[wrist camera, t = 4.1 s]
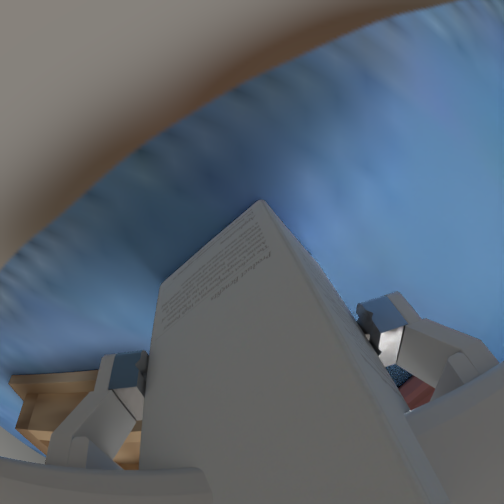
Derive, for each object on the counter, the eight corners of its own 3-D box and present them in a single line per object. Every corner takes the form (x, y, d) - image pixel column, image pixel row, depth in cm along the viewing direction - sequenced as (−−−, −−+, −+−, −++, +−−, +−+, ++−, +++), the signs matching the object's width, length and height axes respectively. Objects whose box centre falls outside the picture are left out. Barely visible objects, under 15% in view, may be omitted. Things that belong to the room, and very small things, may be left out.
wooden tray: (201, 355, 16) (204, 413, 13) (245, 455, 23) (252, 492, 20) (11, 375, 16) (-5, 417, 12) (102, 465, 23) (100, 498, 19)
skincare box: (222, 331, 16) (261, 582, 5) (153, 278, 14) (128, 582, 3) (321, 255, 14) (468, 509, 4) (259, 184, 12) (440, 530, 2)
